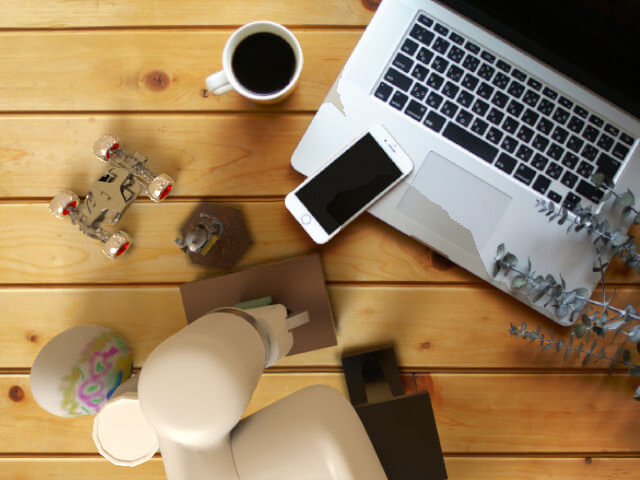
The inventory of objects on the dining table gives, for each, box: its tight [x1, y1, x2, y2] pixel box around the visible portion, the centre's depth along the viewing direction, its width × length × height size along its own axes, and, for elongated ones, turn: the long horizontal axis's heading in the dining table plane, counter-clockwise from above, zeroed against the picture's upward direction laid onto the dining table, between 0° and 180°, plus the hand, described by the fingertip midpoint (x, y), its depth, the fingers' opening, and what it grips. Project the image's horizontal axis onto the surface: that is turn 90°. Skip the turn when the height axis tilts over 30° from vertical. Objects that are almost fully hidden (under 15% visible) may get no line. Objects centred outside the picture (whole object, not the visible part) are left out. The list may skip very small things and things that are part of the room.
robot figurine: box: [173, 201, 253, 271], centre depth 72 cm, size 11×9×12 cm
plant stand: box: [340, 344, 449, 480], centre depth 65 cm, size 9×9×26 cm
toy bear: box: [233, 296, 272, 310], centre depth 63 cm, size 4×4×9 cm
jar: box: [91, 370, 161, 468], centre depth 70 cm, size 10×10×18 cm
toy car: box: [48, 131, 176, 260], centre depth 76 cm, size 15×12×5 cm
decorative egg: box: [29, 324, 134, 419], centre depth 71 cm, size 12×12×15 cm
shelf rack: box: [178, 251, 339, 358], centre depth 73 cm, size 12×18×11 cm, turn 103°
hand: (253, 319), depth 63 cm, fingers closed on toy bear, 4 cm apart
